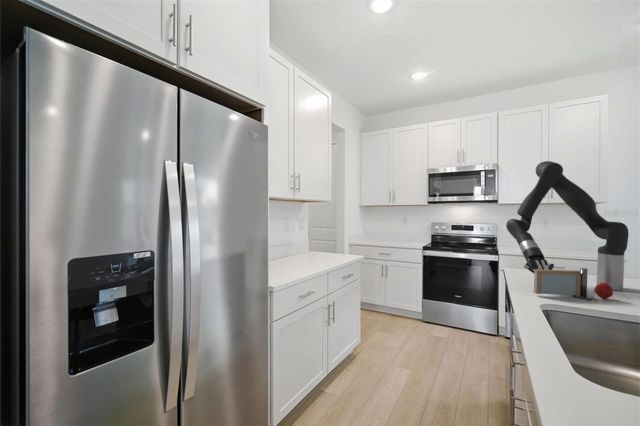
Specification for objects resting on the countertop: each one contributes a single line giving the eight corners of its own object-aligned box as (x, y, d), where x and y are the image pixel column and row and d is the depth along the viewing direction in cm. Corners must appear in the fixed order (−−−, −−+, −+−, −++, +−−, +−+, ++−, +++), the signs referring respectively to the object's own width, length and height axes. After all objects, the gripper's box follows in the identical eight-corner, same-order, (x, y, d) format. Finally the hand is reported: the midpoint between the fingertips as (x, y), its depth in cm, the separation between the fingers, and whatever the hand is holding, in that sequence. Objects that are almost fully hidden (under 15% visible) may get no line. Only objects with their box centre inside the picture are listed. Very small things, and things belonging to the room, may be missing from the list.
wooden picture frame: (576, 293, 126) (577, 270, 126) (580, 295, 124) (581, 271, 124) (533, 292, 128) (534, 269, 127) (536, 293, 126) (537, 270, 126)
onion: (616, 302, 119) (617, 283, 119) (600, 301, 121) (601, 282, 120) (605, 297, 125) (606, 279, 125) (590, 296, 126) (591, 279, 126)
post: (575, 294, 129) (576, 266, 129) (593, 297, 125) (594, 268, 124) (572, 297, 125) (573, 268, 125) (591, 300, 121) (592, 270, 120)
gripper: (520, 246, 138) (536, 277, 127) (549, 246, 137) (568, 278, 125) (513, 255, 144) (528, 285, 132) (541, 255, 143) (558, 286, 131)
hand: (547, 281), depth 129 cm, fingers closed
